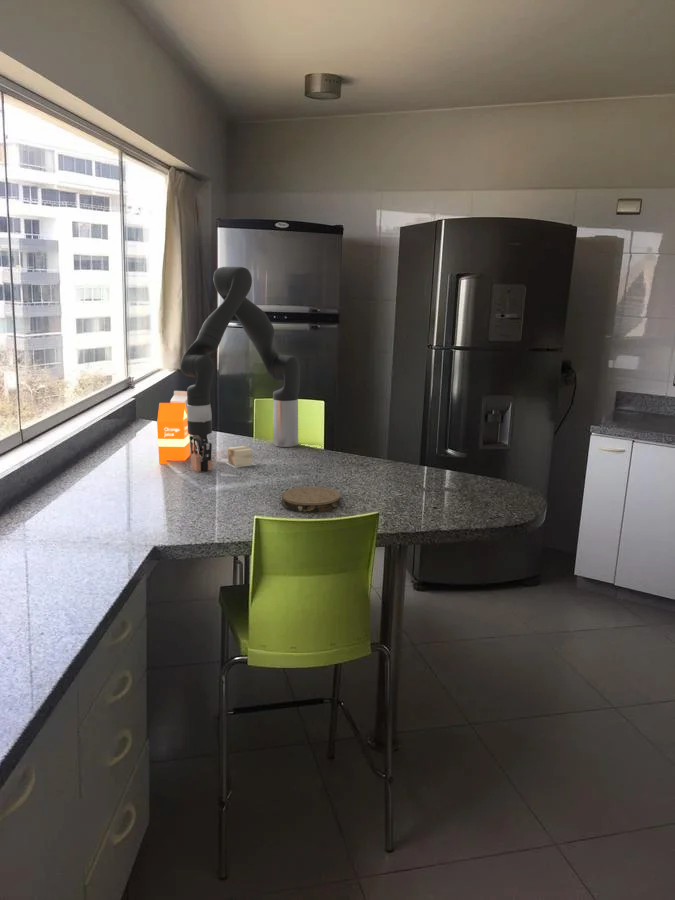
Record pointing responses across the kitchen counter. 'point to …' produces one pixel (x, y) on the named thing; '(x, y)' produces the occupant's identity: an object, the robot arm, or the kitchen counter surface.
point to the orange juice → (172, 432)
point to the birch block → (240, 456)
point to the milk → (180, 401)
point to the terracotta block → (198, 463)
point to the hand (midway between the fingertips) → (201, 470)
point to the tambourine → (311, 499)
